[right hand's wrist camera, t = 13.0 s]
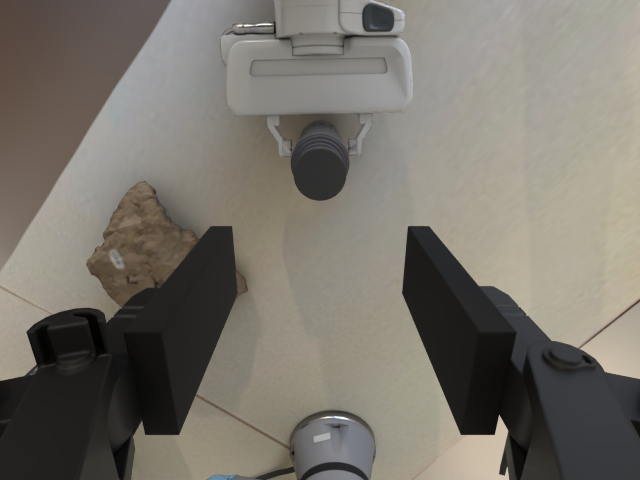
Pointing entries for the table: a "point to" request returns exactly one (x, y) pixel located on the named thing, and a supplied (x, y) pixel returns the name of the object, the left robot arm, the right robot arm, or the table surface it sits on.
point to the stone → (141, 247)
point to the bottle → (320, 141)
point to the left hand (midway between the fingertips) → (320, 155)
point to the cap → (319, 173)
